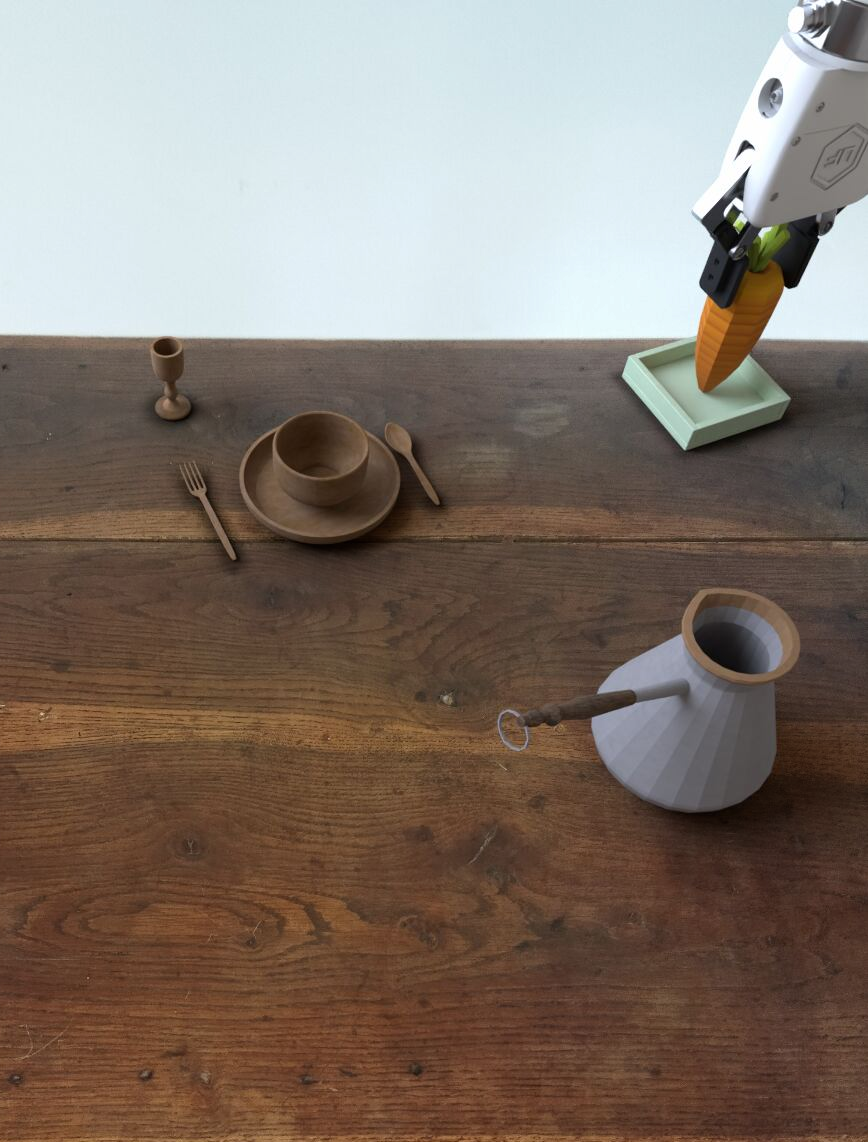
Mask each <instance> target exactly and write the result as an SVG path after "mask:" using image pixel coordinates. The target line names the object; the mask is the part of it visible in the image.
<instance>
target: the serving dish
mask: <svg viewBox="0 0 868 1142" xmlns="http://www.w3.org/2000/svg"><path fill="white" fill-rule="evenodd" d="M696 341H697V334H696V335H693V336H690V337H687V338H683V339H680V340H675V341H673V342H670V343H667V344H664V345H660V346H656V347H653V348H651V349H647V350H644V351H640V352H638V353H635V354H631V355H629V356H628V357H627V360H626V364H625V366H624V369H623V372H622V375H621V378H622V379H623V380H624V381H625V382H626V383H627V385H628V386H629V388H631V390H632V391H634V393H635V394H636V395H637V396H638V398H639V399H640V400H641V401H642V403H644V404H645V405H646V407H647V408H648V410H650V412H651V413H652V414H653V415H654V417H656V419H657V420H658V421H659V423H660V424H661V425H662V426H663V427H664V428H665V429H666V430H667V432H668V433H669V434H670V435H671V437H672V438H673V439H674V440H675V442H677V443H678V445H679V446H680V447H681V448H682V449H683V450H684V451H685V452H686V451H689V450H692V449H695V448H698V447H701V446H704V445H707V444H710V443H713V442H716V441H719V440H722V439H725V438H728V437H731V436H734V435H737V434H741V433H743V432H746V431H748V430H749V431H750V430H752V429H755V428H759V427H761V426H764V425H767V424H770V423H774V422H776V421H779V420H781V419H782V417H783V416H784V413H785V412H786V410H787V408H788V406H789V404H790V402H791V400H792V398H791V397H790V396H789V394H787V392H786V391H784V389H782V387H781V386H780V385H779V384H778V383H777V382H776V381H775V380H774V379H773V377H771V376H770V375H769V374H768V373H767V371H765V369H764V368H762V366H761V365H760V363H758V362H757V361H756V360H755V359H754V358H753V357H752V356H751V355H750V353H749V354H748V356H747V357H746V358H745V360H744V361H743V362H742V363H741V365H740V366H739V367H738V368H737V369H736V370H735V371H734V372H733V373H732V374H731V375H730V376H729V377H728V378H727V379H726V380H724V381H723V382H722V383H720V384H719V385H718V386H716V387H715V388H714V389H712V390H711V391H709V392H705V393H703V392H701V390H700V389H699V388H698V383H697V377H696V369H695V348H696Z"/></svg>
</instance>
